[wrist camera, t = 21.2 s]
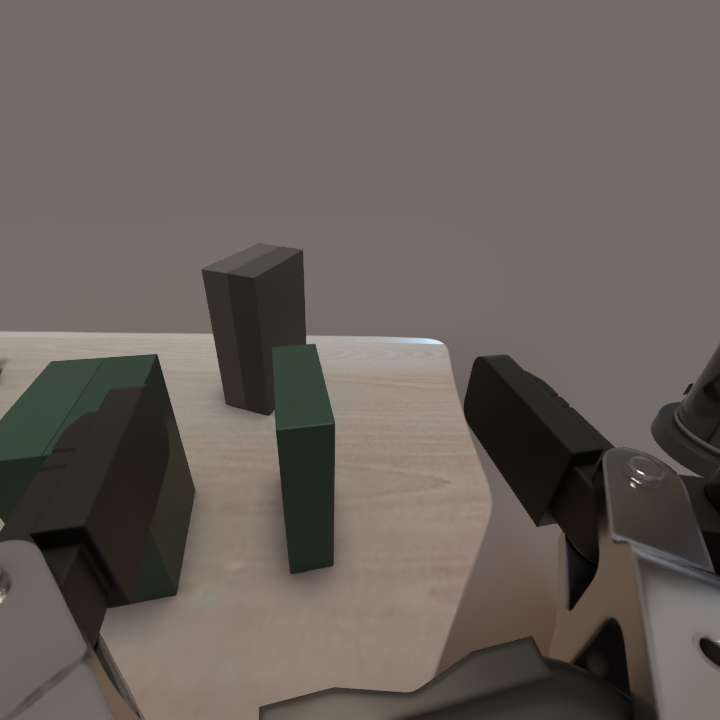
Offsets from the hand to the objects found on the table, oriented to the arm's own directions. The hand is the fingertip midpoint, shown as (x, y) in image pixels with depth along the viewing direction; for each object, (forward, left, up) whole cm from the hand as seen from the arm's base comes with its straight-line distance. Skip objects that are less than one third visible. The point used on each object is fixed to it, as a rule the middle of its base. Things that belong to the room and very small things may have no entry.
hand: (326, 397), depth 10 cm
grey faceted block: (+24, -21, -22) cm, 39 cm away
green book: (+8, -9, -22) cm, 25 cm away
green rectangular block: (+18, -1, -22) cm, 28 cm away
